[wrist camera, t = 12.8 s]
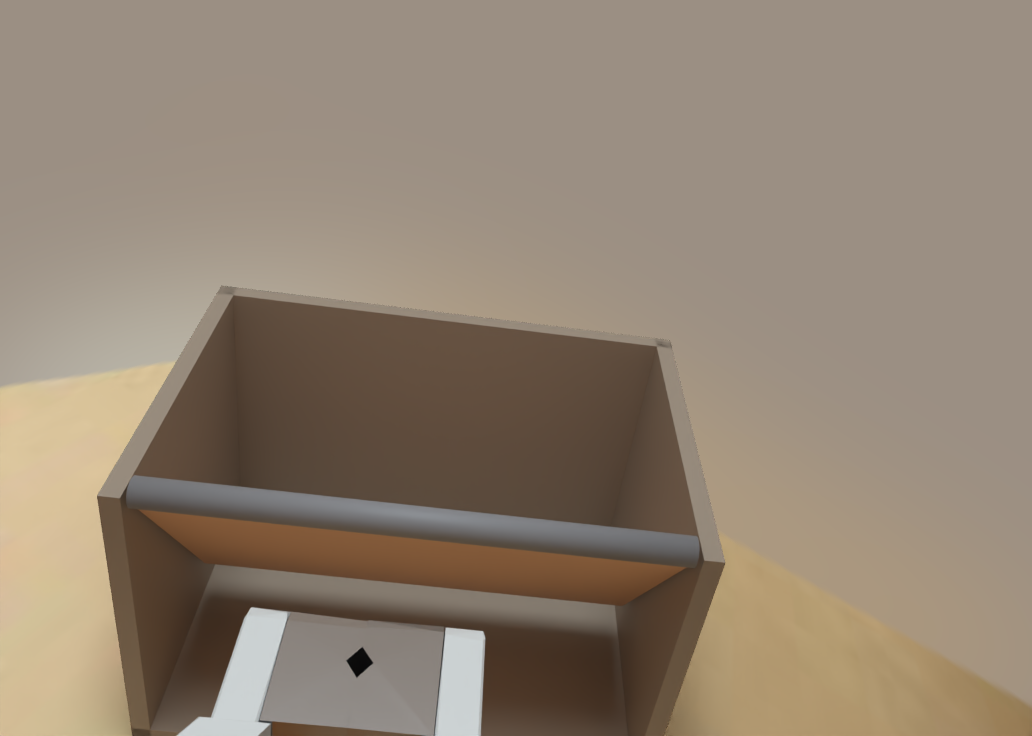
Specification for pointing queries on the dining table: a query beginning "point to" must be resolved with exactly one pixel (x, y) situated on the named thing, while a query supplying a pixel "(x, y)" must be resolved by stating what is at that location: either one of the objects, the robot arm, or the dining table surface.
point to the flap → (411, 542)
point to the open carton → (418, 497)
